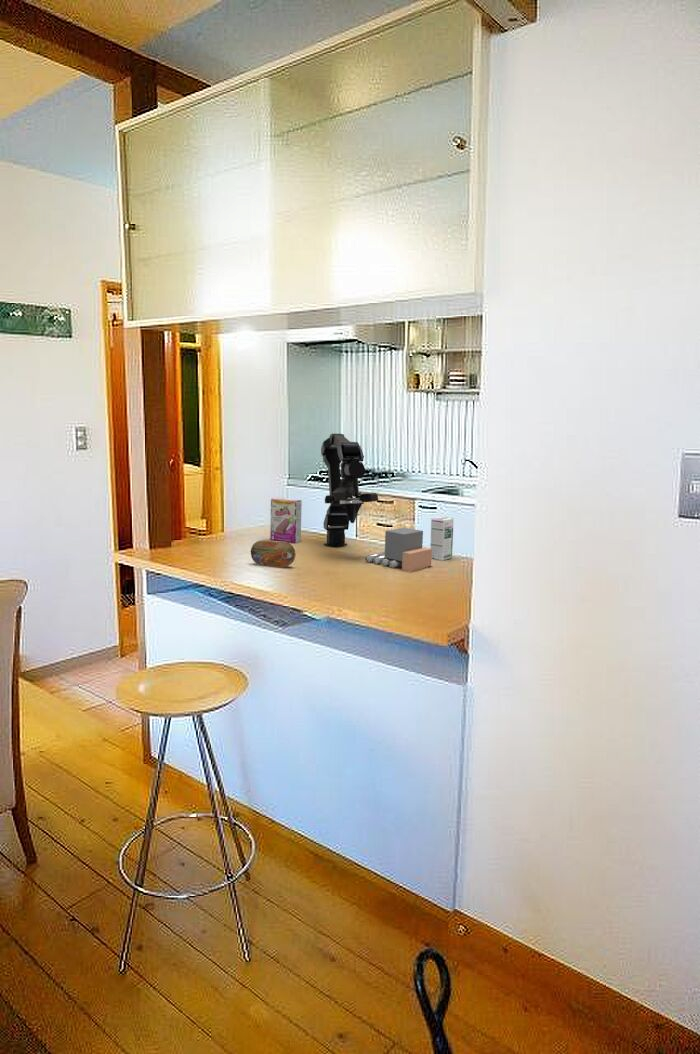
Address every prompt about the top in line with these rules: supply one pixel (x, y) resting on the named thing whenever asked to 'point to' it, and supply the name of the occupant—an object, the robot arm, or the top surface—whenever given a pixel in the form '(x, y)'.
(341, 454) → the robot arm
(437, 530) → the syrup box
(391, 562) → the roller track
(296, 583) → the top surface
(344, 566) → the top surface
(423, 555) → the block
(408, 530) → the grey block
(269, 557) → the tin
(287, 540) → the candy bar box
